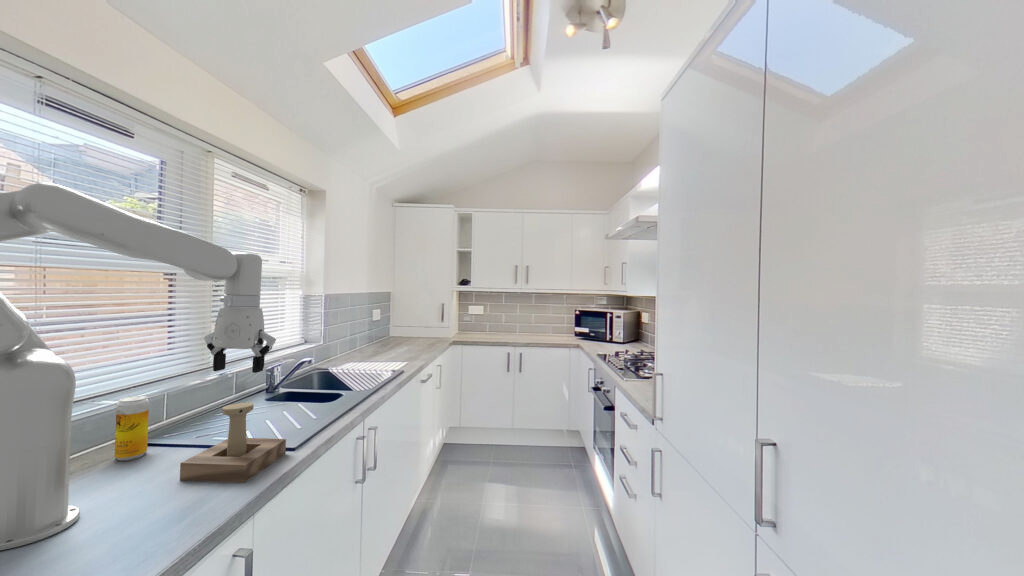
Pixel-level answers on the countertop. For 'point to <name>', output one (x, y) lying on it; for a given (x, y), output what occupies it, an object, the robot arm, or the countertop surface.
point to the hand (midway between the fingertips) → (238, 371)
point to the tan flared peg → (237, 428)
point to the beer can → (131, 427)
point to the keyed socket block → (232, 461)
